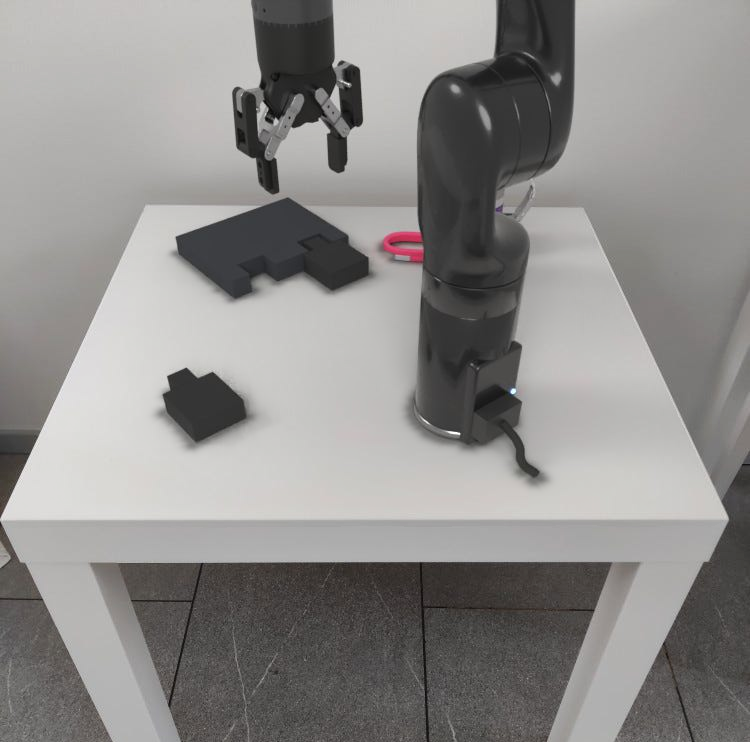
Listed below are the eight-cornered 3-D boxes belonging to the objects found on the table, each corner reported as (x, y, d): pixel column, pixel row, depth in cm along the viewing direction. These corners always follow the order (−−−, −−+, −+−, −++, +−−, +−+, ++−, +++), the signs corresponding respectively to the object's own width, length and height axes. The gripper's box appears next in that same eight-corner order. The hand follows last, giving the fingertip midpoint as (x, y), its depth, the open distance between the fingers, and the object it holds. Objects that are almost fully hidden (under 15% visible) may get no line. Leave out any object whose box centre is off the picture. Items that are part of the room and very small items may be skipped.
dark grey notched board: (349, 252, 102) (348, 235, 101) (234, 298, 95) (231, 281, 93) (289, 213, 110) (288, 196, 108) (178, 253, 102) (175, 236, 100)
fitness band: (379, 259, 101) (380, 248, 100) (386, 237, 105) (386, 227, 104) (440, 264, 100) (441, 253, 99) (444, 242, 104) (445, 231, 103)
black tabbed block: (368, 275, 99) (368, 257, 97) (331, 291, 96) (331, 273, 94) (329, 249, 103) (329, 231, 101) (293, 263, 100) (291, 246, 99)
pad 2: (246, 418, 79) (243, 399, 78) (195, 442, 77) (191, 424, 75) (205, 379, 84) (201, 360, 82) (155, 401, 81) (150, 382, 79)
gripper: (248, 32, 66) (267, 212, 78) (377, 3, 72) (377, 175, 84) (205, 13, 70) (230, 187, 82) (331, -13, 76) (337, 153, 88)
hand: (304, 180), depth 83 cm, fingers open, 8 cm apart
